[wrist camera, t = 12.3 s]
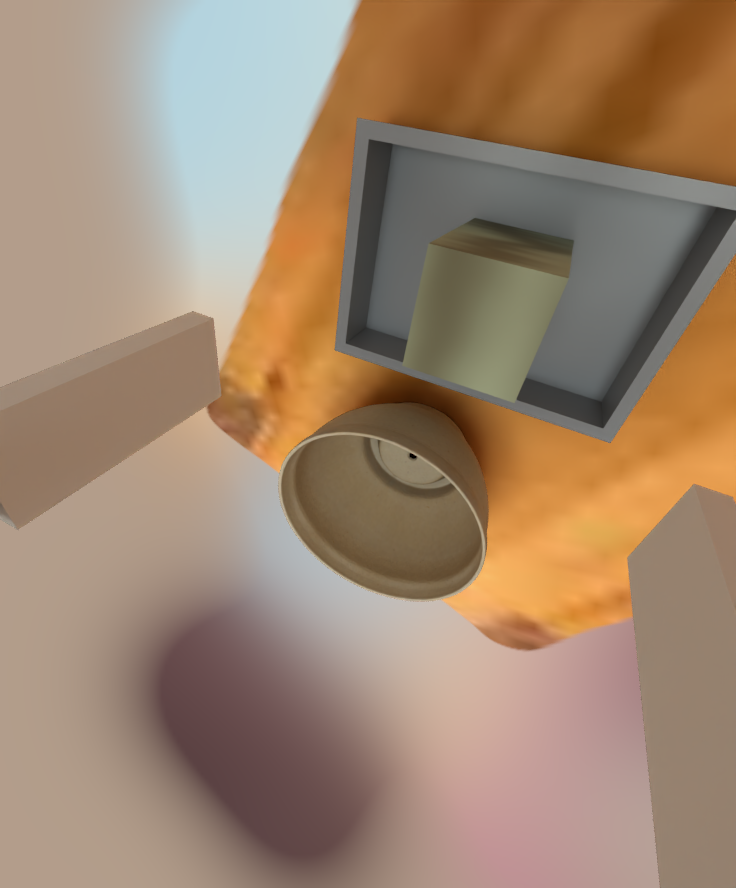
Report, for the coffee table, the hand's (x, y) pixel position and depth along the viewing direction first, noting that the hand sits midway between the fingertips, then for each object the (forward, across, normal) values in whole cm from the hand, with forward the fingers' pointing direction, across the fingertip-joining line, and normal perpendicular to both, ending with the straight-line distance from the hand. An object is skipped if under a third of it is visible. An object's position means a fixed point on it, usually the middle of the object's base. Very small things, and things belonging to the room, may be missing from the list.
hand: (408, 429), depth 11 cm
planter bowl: (+21, -3, -16) cm, 27 cm away
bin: (+21, 0, 0) cm, 21 cm away
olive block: (+20, 0, 0) cm, 20 cm away
